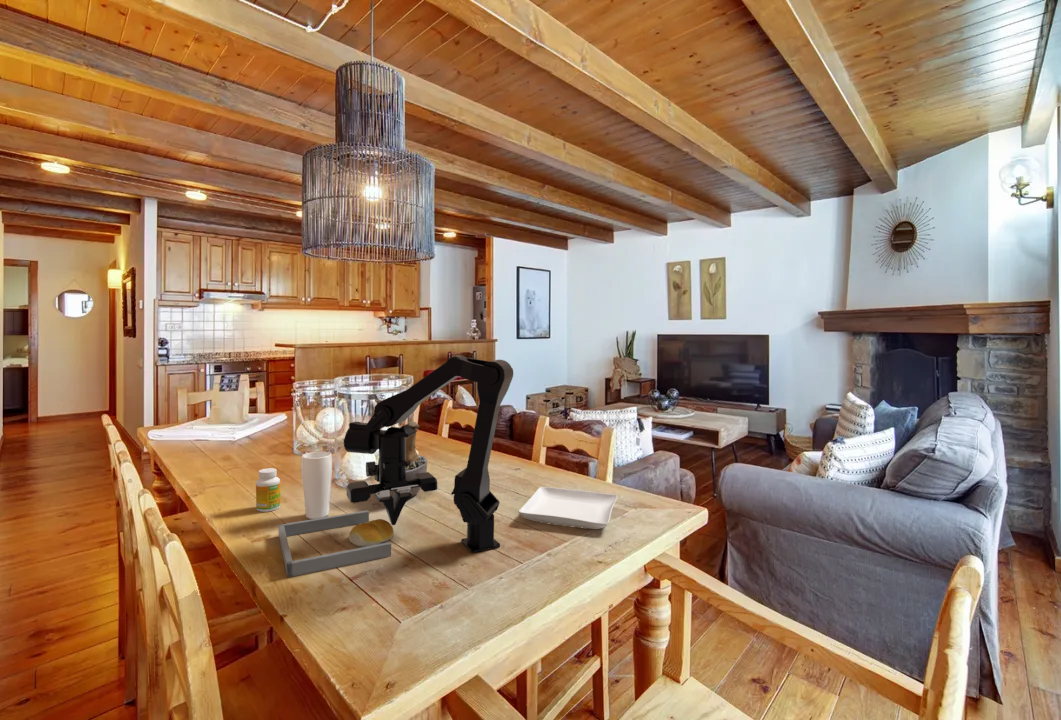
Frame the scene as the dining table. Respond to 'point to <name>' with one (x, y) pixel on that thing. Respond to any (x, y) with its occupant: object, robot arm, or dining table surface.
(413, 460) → the mortar and pestle
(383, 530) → the bread roll
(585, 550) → the dining table surface
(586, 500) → the salad plate
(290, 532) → the gray three-sided bracket
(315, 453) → the drinking glass
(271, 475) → the supplement bottle
